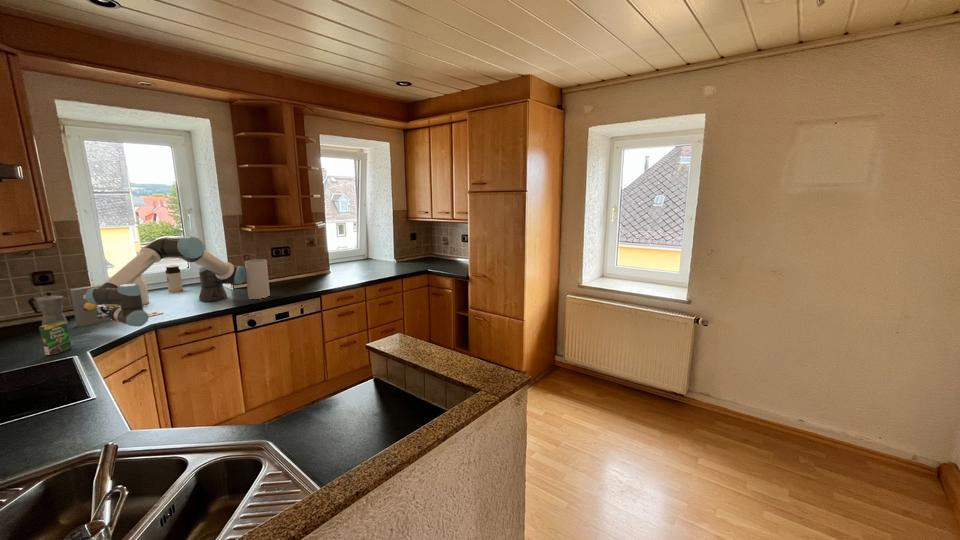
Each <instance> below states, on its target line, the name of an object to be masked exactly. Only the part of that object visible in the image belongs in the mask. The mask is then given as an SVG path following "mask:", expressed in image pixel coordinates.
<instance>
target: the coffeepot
mask: <svg viewBox="0 0 960 540" xmlns="http://www.w3.org/2000/svg"><path fill="white" fill-rule="evenodd" d="M65 300H67V297H66V296H63V295H52V292H49V291H47V292H46V296H43V297H40V296H39V297H37V296H35V297H30V298H29V299H28V300H27V303H28V305H29V307H30V308H31V310H32V311H33V312H34V314H41V313H42V316H41V317H42V319H41V326H43V325H47V324H51V323H55V322H58V321H66V324H67V326H68V324H69V321H68V319H67V317H66V315H65V314H64V312H63V309H64V302H65ZM34 302H36V304H37V306H38V308H39V310H40V311H38V310H37V307H36V305H35V303H34Z"/></svg>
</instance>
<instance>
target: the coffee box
mask: <svg viewBox="0 0 960 540" xmlns="http://www.w3.org/2000/svg"><path fill="white" fill-rule="evenodd" d="M38 330H39V334H40V338H41V343H42V347H43V352H44V356H46V355H52V356H54V355H53V354H55V355H57V354H56V353H58V354H60V353H59V352H61V353H63V351H64V352H66V351H65V350H67V351H69V350H68V349H70V350H72V349H73V347H72V343H71V338H70V333H69V329H68V325H67V324H66V321H58V322H55V323H51V324H47V325H43V326H42V325H39V327H38ZM71 348H72V349H71Z"/></svg>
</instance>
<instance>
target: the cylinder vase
mask: <svg viewBox="0 0 960 540" xmlns="http://www.w3.org/2000/svg"><path fill="white" fill-rule="evenodd" d="M244 264H245V265H244V269H245V279H246V285H247V286H246V287H247V296H248V299H249V300H251V299H260V300H262V299H261V298H266V297H268V296H271V294H270V293H271V292H270V283H269V282H270V281H269V272H268V270H269V269H268V261H267V259H263V258H262V259H260V258H259V259H249V260H245V261H244ZM268 298H269V297H268ZM266 299H267V298H266Z"/></svg>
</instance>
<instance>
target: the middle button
mask: <svg viewBox="0 0 960 540" xmlns="http://www.w3.org/2000/svg"><path fill="white" fill-rule="evenodd" d="M102 305H106V306H111V307H113V306H118V304H102Z"/></svg>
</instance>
